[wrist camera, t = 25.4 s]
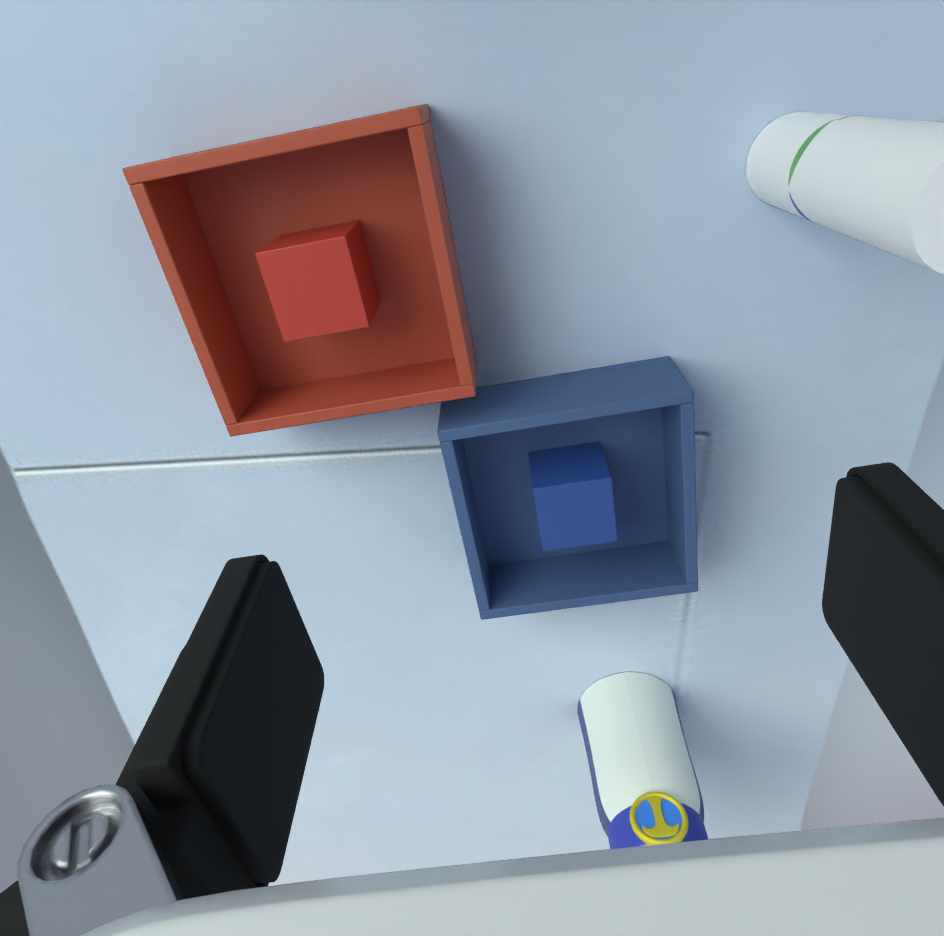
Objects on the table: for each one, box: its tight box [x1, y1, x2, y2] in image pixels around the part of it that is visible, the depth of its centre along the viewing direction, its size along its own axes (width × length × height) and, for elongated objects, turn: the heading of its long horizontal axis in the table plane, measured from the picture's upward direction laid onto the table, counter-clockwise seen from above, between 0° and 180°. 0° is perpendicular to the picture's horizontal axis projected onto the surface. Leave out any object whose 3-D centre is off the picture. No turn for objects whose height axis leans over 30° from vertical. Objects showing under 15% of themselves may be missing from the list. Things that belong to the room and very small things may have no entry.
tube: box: [746, 112, 944, 274], centre depth 27 cm, size 4×4×15 cm
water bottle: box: [578, 672, 708, 849], centre depth 42 cm, size 8×8×25 cm
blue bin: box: [437, 356, 698, 620], centre depth 40 cm, size 13×13×5 cm
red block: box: [255, 220, 381, 342], centre depth 34 cm, size 4×4×4 cm
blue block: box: [528, 441, 617, 551], centre depth 40 cm, size 4×4×4 cm
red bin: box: [123, 104, 477, 436], centre depth 34 cm, size 13×13×5 cm
